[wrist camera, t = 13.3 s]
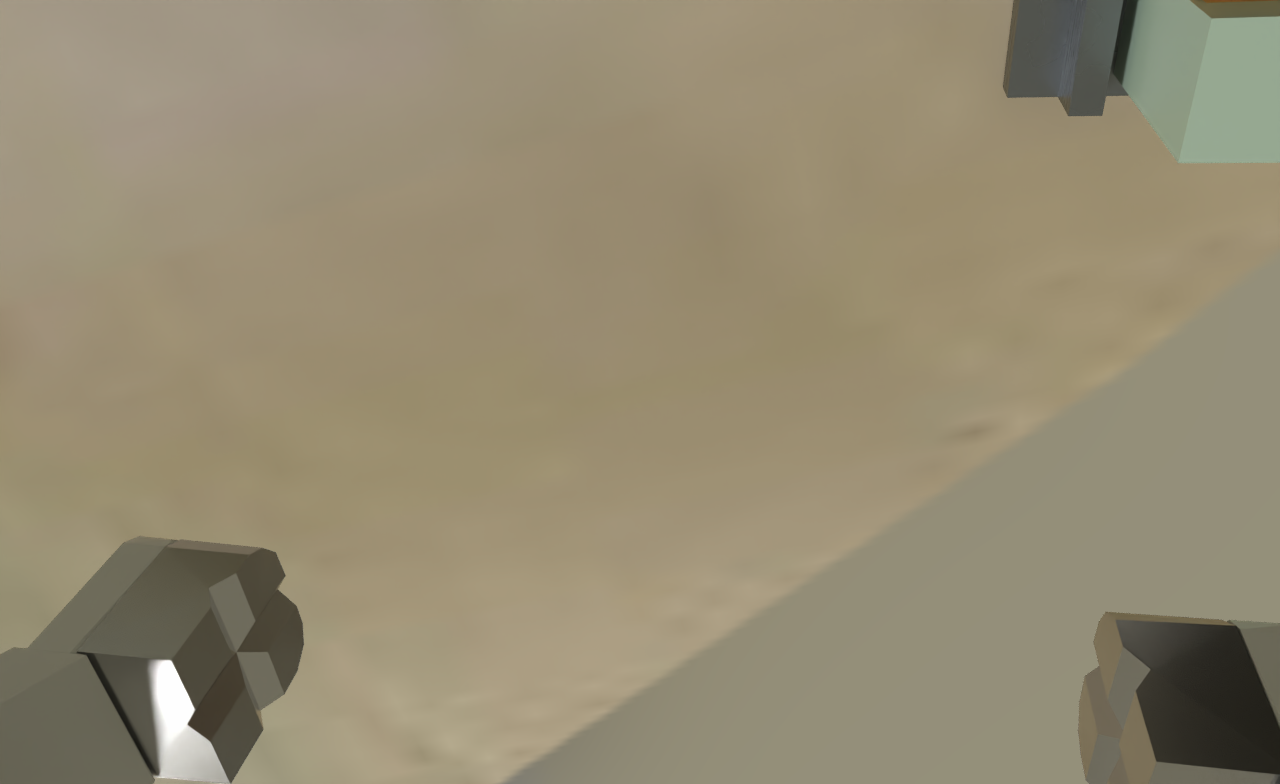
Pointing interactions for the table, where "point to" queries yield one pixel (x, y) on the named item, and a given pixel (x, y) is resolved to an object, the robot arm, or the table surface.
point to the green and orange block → (1205, 76)
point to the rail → (1065, 52)
